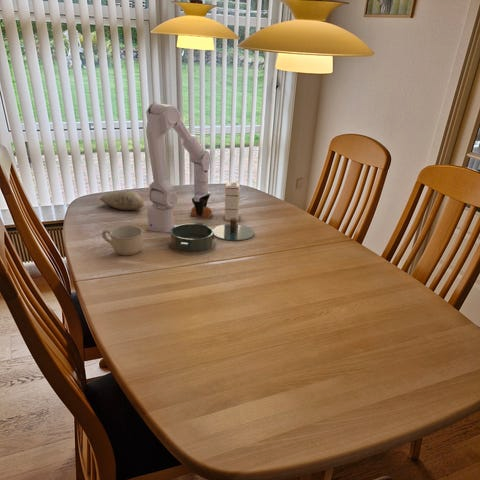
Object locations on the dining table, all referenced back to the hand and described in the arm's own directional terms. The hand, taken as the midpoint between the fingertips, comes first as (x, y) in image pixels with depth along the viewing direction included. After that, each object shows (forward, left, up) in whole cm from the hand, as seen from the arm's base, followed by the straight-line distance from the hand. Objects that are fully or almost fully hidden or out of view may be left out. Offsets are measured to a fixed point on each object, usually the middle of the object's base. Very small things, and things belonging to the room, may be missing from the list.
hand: (201, 213), depth 185 cm
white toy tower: (+13, +1, -2) cm, 13 cm away
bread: (0, 0, -1) cm, 1 cm away
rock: (-34, 0, -1) cm, 34 cm away
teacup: (-16, -43, -1) cm, 46 cm away
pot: (+5, -31, -1) cm, 31 cm away
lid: (+17, -16, -1) cm, 23 cm away
